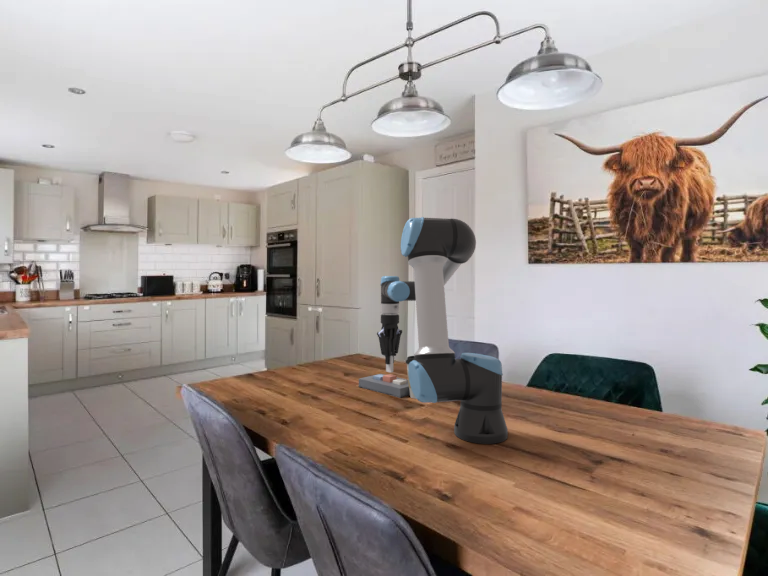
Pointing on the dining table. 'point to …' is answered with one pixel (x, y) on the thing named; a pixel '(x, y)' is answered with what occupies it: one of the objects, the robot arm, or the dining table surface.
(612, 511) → the dining table surface
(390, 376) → the key red
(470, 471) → the dining table surface
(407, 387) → the console
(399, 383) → the key ivory
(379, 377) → the key blue
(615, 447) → the dining table surface
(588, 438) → the dining table surface
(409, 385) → the coffee cup
